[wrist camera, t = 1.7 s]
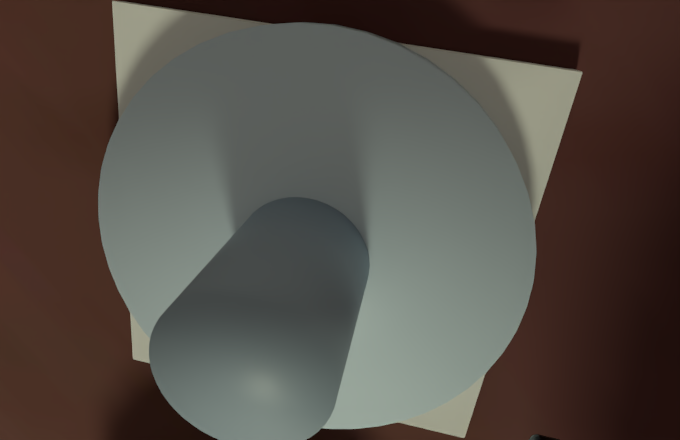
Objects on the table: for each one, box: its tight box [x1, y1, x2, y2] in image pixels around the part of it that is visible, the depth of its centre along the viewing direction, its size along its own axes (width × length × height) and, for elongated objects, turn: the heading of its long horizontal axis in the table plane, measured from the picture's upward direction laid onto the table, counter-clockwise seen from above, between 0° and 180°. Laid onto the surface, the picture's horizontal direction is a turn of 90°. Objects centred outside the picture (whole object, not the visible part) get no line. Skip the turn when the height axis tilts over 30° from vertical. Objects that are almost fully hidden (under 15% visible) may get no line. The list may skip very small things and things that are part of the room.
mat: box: [112, 1, 583, 438], centre depth 13 cm, size 10×10×1 cm
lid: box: [98, 22, 536, 440], centre depth 10 cm, size 10×10×5 cm
